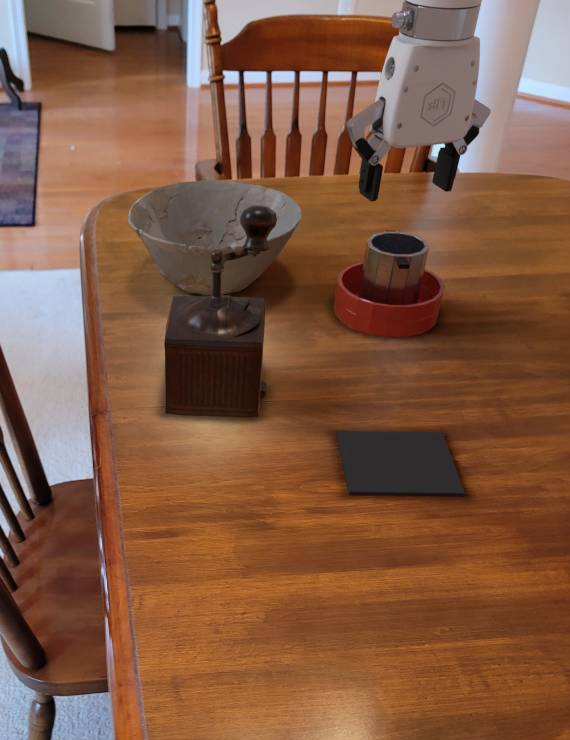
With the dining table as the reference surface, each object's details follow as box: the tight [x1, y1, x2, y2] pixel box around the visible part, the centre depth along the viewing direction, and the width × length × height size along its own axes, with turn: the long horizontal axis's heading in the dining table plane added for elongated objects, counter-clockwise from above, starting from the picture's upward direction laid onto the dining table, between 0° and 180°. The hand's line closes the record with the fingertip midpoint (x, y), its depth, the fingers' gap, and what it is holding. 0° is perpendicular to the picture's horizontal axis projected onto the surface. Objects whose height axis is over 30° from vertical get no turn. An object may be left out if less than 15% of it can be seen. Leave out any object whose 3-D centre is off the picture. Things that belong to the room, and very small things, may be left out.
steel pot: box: [358, 229, 430, 305], centre depth 104 cm, size 7×10×9 cm
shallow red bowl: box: [333, 261, 446, 338], centre depth 106 cm, size 13×13×4 cm
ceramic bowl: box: [127, 179, 302, 296], centre depth 111 cm, size 22×23×10 cm
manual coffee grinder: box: [163, 205, 277, 419], centre depth 90 cm, size 16×11×18 cm
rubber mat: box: [335, 430, 466, 497], centre depth 84 cm, size 11×10×1 cm
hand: (405, 192), depth 97 cm, fingers open, 9 cm apart
